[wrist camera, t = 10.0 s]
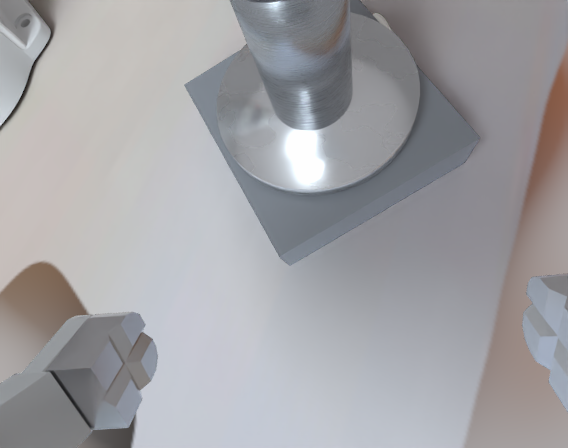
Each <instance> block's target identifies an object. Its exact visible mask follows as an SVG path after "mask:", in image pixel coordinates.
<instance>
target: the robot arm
mask: <svg viewBox="0 0 568 448" xmlns="http://www.w3.org/2000/svg"><path fill="white" fill-rule="evenodd" d="M50 34H51V31H50V28H49V27H48V25H47V24H46V23H45V22H44V20H43V19H42V18H41V17H40V15H39V14H38V13H37V12H36V10H35V9H34V8H33V7H32V5H31V4H30V3H29V1H28V0H0V126H1V124H2V123H3V122H4V121H5V120H6V119H7V117H8V116H9V115H10V113H11V112H12V110H13V109H14V107H15V106H16V104H17V102H18V101H19V99H20V97H21V95H22V93H23V91H24V88H25V86H26V83H27V80H28V77H29V73H30V70H31V67H32V65H33V63H34V61H35V59H36V58H37V57H38V55H39V54H40V52H41V51H42V50H43V48H44V47H45V45H46V43H47V42H48V40H49V38H50ZM526 294H527V296H528V297H529V299H530V300H531V301H532V305H530V306H529V307H528V308H527V309H526V310H525V311H524V313H523V324H522V326H523V332H524V337H525V341H526V343H527V346H528V348H529V351H530V352H531V354H532V355H533V357H534V359H535V361H536V362H538V363H539V364H541V365H543V366H544V367H546V368H548V369H549V370H551V372H550V377H549V383H550V385H551V387H552V388H553V390H554V391H555V393H556V394H557V396H558V398H559V399H560V401H561V403H562V404H563V406H564V407H565V409H566V410H567V412H568V274H558V275H547V276H536V277H532V278H531V279H530V281H529V282H528V286H527V292H526ZM144 327H145V323H144V321H143V319H142V318H141V316H140V314H138V313H135V312H123V313H107V314H94V315H81V316H75V317H73V318H70V319H68V320H67V321H66V322H65V323H64V325H63V326H62V327H61V328H60V329H59V330H58V332H57V333H56V334H55V335H54V336H53V337H52V339H51V340H50V341H49V342H48V343H47V344H46V345H45V347H44V348H43V349H42V350H41V351H40V352H39V354H38V355H37V356H36V357H35V358H34V359H33V361H32V362H31V363H30V364H29V365H28V366H27V368H26V369H25V370H24V371H23V372H22V373H19V374H14V375H12V376H11V377H9V378H8V379H6V380H5V381H3V382H1V383H0V448H77V447H78V446H79V445H80V444H81V443H82V442H83V441H84V440H85V439H86V438H87V437H88V436H89V435H90V434H91V433H92V430H96V429H113V428H128V427H129V426H130V423H131V421H132V419H133V417H134V415H135V413H136V411H137V409H138V407H139V405H140V403H141V401H142V395H141V391H140V390H141V389H142V388H144V387H145V386H146V385H147V384H148V383H149V382H150V381H151V380H152V378H153V376H154V373H155V371H156V367H157V360H158V354H157V349H156V345H155V343H154V341H153V339H152V338H150V337H149V336H148V335H146V334H145V333H143V330H144Z"/></svg>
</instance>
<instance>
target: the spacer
mask: <svg viewBox="0 0 568 448" xmlns="http://www.w3.org/2000/svg"><path fill="white" fill-rule="evenodd" d="M230 2H231V4H232V7H233V9H234V12H235V14H236V17H237V19H238V22H239V24H240V27H241V29H242V32H243V34H244V37H245V39H246V42H247V44H248V47H249V49H250V52H251V54H252V57H253V59H254V62H255V64H256V67H257V69H258V72H259V74H260V77H261V79H262V82H263V84H264V87H265V89H266V92H267V94H268V97H269V99H270V102H271V104H272V107H273V109H274V112H275V114H276V115H277V117H278V118H279V119H280V120H281V121H282V122H283V123H284V124H286V125H287V126H289V127H291V128H294V129H297V130H302V131H313V130H319V129H322V128H325V127H327V126H329V125H331V124H333V123H334V122H336V121H337V120H338V119H340V118H341V117H342V116H343V115H344V113H345V112H346V111H347V109H348V107H349V105H350V103H351V100H352V95H353V82H352V53H351V25H350V0H230Z"/></svg>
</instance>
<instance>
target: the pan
mask: <svg viewBox="0 0 568 448" xmlns="http://www.w3.org/2000/svg"><path fill="white" fill-rule="evenodd" d="M350 25H351V53H352V82H353V95H352V100H351V103H350V105H349V107H348V109H347V111H346V112H345V113H344V115H343V116H342V117H341V118H340V119H338V120H337V121H336V122H334V123H333V124H331V125H329V126H327V127H325V128H322V129H319V130H313V131H302V130H297V129H294V128H291V127H289V126H287V125H286V124H284V123H283V122H282V121H281V120H280V119H279V118H278V117H277V115H276V114H275V112H274V109H273V107H272V104H271V102H270V99H269V97H268V94H267V92H266V89H265V87H264V84H263V82H262V79H261V77H260V74H259V72H258V69H257V67H256V64H255V62H254V59H253V57H252V54H251V52H250V49H249V47H248V44H246V45H245V46H244V47H243V48H242V49H241V50H240V51H239V53H238V54H237V55H236V57H235V58H234V59H233V61H232V62H231V64H230V65H229V67H228V69H227V71H226V73H225V75H224V77H223V80H222V82H221V85H220V89H219V92H218V99H217V121H218V127H219V130H220V134H221V137H222V139H223V141H224V143H225V146H226V147H227V149H228V150H229V152H230V153H231V155H232V156H233V158H234V159H235V160H236V162H237V163H238V164H239V165H240V166H241V168H242V169H243V170H244V171H245V172H246V173H247V174H249V175H250V176H251V177H252V178H253V179H255V180H256V181H258V182H260V183H261V184H263V185H265V186H267V187H269V188H271V189H274V190H276V191H280V192H283V193H287V194H292V195H299V196H320V195H329V194H333V193H338V192H342V191H345V190H347V189H350V188H353V187H356V186H358V185H360V184H361V183H363V182H365V181H367V180H369V179H370V178H372V177H373V176H375V175H376V174H378V173H379V172H381V171H382V170H383V169H384V168H385V167H386V166H387V165H388V164H390V163H391V161H392V160H393V159H394V158H395V157H396V156H397V155H398V153H399V152H400V151H401V149H402V148H403V146H404V145H405V143H406V141H407V139H408V137H409V135H410V133H411V131H412V128H413V125H414V121H415V118H416V114H417V110H418V106H419V99H420V80H419V75H418V70H417V67H416V64H415V61H414V59H413V57H412V55H411V53H410V51H409V50H408V48H407V47H406V46H405V44H404V43H403V42H402V40H401V39H400V38H399V37H398V36H397V35H396V34H395V33H394V32H392V31H391V30H390V29H388V28H387V27H386V26H384V25H383V24H381V23H379V22H377V21H375V20H373V19H371V18H368V17H365V16H363V15H359V14H355V13H351V12H350Z"/></svg>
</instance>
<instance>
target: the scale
mask: <svg viewBox="0 0 568 448" xmlns="http://www.w3.org/2000/svg"><path fill="white" fill-rule="evenodd" d="M350 12H351V13H355V14H359V15H363V16H365V17H368V18H371V19H373V20H375V21H377V22H379V23H381V24H383V25H384V26H386V27H387V28H388V29H390V27H389V25H388V23H387V21H386V20H385V19H384V17H383V16H382V15H380V14H379V13H374V14H371V13H370V11H369V10H368V9H367V8H366V7H365V6H364V5H363V3H362V2H361V1H360V0H350ZM390 30H391V29H390ZM238 53H239V51H238V52H237V53H235V54H233V55H232V56H230V57H229V58H227V59H225V60H224V61H222V62H220V63H219V64H217V65H216V66H214V67H212V68H211V69H209V70H207V71H206V72H204V73H203V74H201V75H199V76H198V77H196V78H195V79H193V80H191V81H190V82H188V83H186V84H185V85H184V86H185V87H186V89H187V91H188V93H189V95H190V96H191V98H192V100H193V102H194V104H195V105H196V107H197V109H198V111H199V113H200V114H201V116H202V118H203V120H204V122H205V123H206V125H207V127H208V129H209V131H210V132H211V134H212V136H213V138H214V140H215V142H216V143H217V145H218V147H219V149H220V151H221V152H222V154H223V156H224V158H225V160H226V161H227V163H228V165H229V167H230V169H231V170H232V172H233V174H234V176H235V178H236V179H237V181H238V183H239V185H240V187H241V188H242V190H243V192H244V194H245V196H246V197H247V199H248V201H249V203H250V205H251V207H252V208H253V210H254V212H255V214H256V216H257V217H258V219H259V221H260V223H261V225H262V226H263V228H264V230H265V232H266V234H267V235H268V237H269V239H270V241H271V243H272V244H273V246H274V248H275V250H276V252H277V253H278V255H279V257H280V258H281V259H282V260H284V261H285V262H286V263H287V264H288V265H289V266H290V265H292V264H294V263H296V262H297V261H299V260H301V259H302V258H304V257H306V256H307V255H309V254H311V253H313V252H314V251H316V250H318V249H319V248H321V247H323V246H324V245H326V244H328V243H329V242H331V241H333V240H335V239H336V238H338V237H340V236H341V235H343V234H345V233H346V232H348V231H350V230H351V229H353V228H355V227H357V226H358V225H360V224H362V223H363V222H365V221H367V220H368V219H370V218H372V217H374V216H375V215H377V214H379V213H380V212H382V211H384V210H385V209H387V208H389V207H390V206H392V205H394V204H396V203H397V202H399V201H401V200H402V199H404V198H406V197H407V196H409V195H411V194H412V193H414V192H416V191H418V190H419V189H421V188H423V187H424V186H426V185H428V184H429V183H431V182H433V181H434V180H436V179H438V178H440V177H441V176H443V175H445V174H446V173H448V172H450V171H451V170H453V169H455V168H457V167H458V166H460V165H462V164H463V163H465V161H466V160H467V158H468V157H469V155H470V154H471V152H472V150H473V149H474V147H475V146H476V144H477V142H478V141H479V139H480V137H479V136H478V135H477V133H476V132H475V131H474V130H473V129H472V128H471V127H470V125H469V124H468V123H467V122H466V121H465V120H464V119H463V117H462V116H461V115H460V114H459V113H458V112H457V111H456V109H455V108H454V107H453V106H452V105H451V104H450V103H449V101H448V100H447V99H446V98H445V97H444V96H443V95H442V93H441V92H440V91H439V90H438V89H437V88H436V87H435V86H434V84H433V83H432V82H431V81H430V80H429V79H428V78H427V76H426V75H425V74H424V73H423V72H422V71H421V70H420V68H419V67H418V66H417V65H416V67H417V70H418V75H419V80H420V99H419V106H418V110H417V114H416V118H415V121H414V125H413V128H412V131H411V133H410V135H409V137H408V139H407V141H406V143H405V145H404V146H403V148H402V149H401V151H400V152H399V153H398V155H397V156H396V157H395V158H394V159H393V160H392V161H391V163H390V164H388V165H387V166H386V167H385V168H384V169H383V170H382V171H381V172H379V173H378V174H376V175H375V176H373V177H372V178H370V179H369V180H367V181H365V182H363V183H361V184H360V185H358V186H356V187H353V188H350V189H347V190H345V191H342V192H338V193H333V194H329V195H320V196H299V195H292V194H287V193H283V192H280V191H276V190H274V189H271V188H269V187H267V186H265V185H263V184H261V183H260V182H258V181H256V180H255V179H253V178H252V177H251V176H250V175H249V174H247V173H246V172H245V171H244V170H243V169H242V168H241V166H240V165H239V164H238V163H237V162H236V160H235V159H234V158H233V156H232V155H231V153H230V152H229V150H228V149H227V147H226V146H225V143H224V141H223V139H222V137H221V134H220V130H219V127H218V121H217V99H218V92H219V89H220V85H221V82H222V80H223V77H224V75H225V73H226V71H227V69H228V67H229V65H230V64H231V62H232V61H233V59H234V58H235V57H236V55H237V54H238Z"/></svg>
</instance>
